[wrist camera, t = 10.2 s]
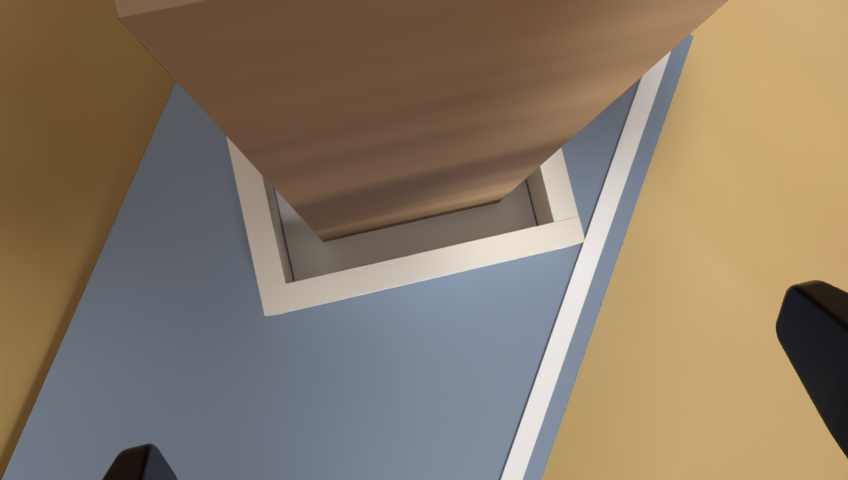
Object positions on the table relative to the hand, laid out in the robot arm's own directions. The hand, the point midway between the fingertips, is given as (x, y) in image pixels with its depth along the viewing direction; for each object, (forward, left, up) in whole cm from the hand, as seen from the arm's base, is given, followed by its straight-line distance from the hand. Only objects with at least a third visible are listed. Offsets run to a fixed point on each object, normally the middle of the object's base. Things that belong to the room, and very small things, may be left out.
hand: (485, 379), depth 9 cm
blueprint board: (0, +3, -8) cm, 8 cm away
